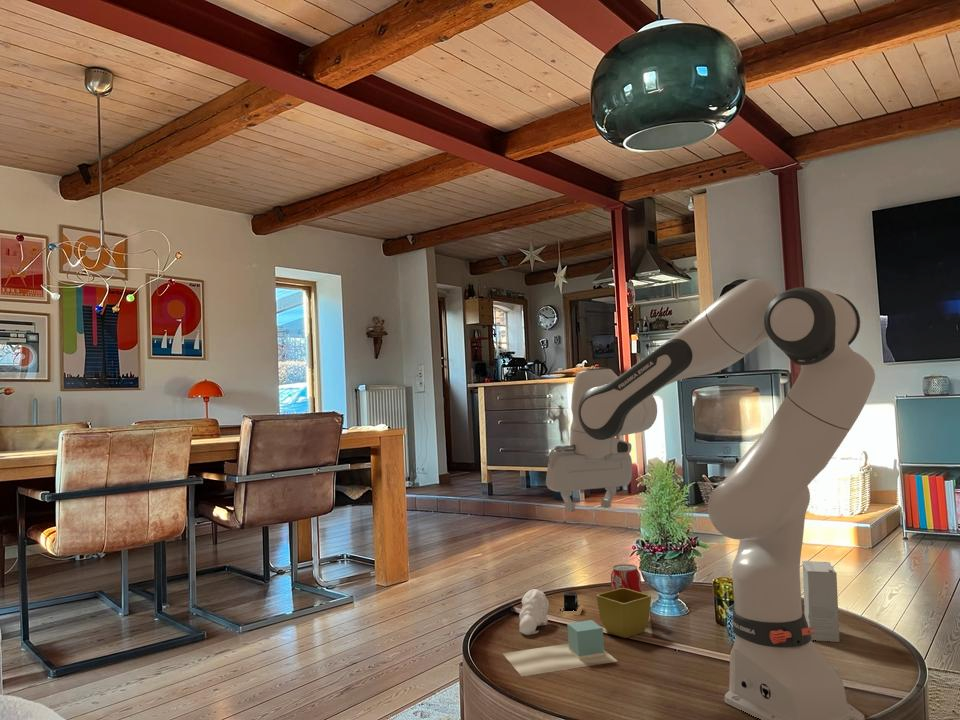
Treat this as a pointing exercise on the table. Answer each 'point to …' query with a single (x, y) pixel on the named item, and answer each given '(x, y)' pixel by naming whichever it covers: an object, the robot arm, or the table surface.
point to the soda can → (626, 577)
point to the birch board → (551, 660)
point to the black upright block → (570, 601)
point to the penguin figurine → (533, 611)
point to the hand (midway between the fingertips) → (588, 509)
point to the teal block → (585, 639)
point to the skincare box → (821, 600)
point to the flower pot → (624, 611)
